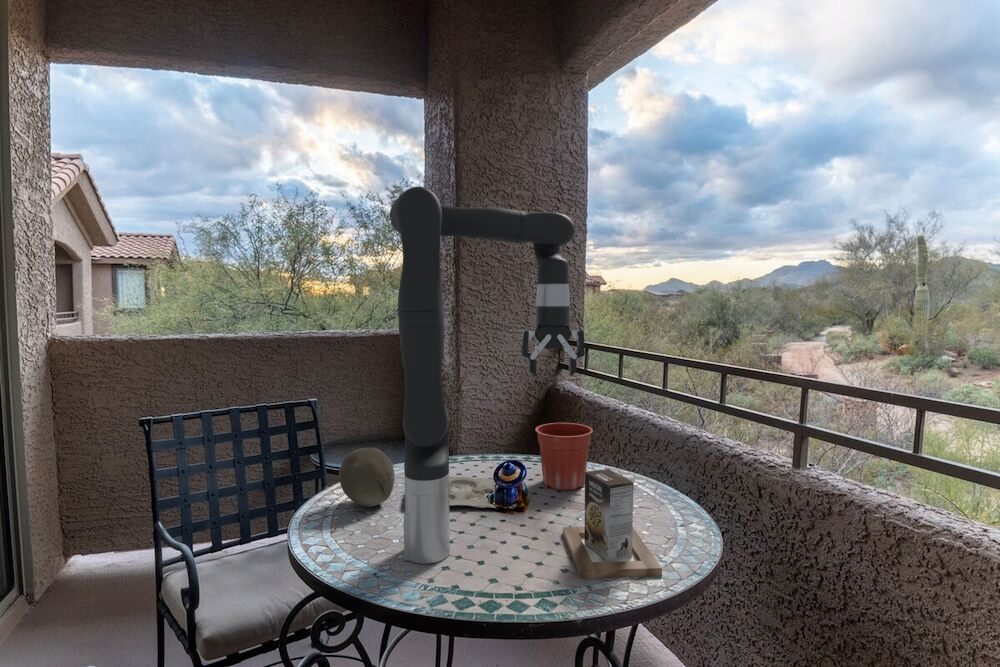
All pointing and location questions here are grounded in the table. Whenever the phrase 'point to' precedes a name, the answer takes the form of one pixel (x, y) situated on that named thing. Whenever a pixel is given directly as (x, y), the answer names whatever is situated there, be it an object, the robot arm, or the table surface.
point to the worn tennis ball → (367, 476)
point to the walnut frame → (599, 568)
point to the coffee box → (608, 514)
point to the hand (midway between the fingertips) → (552, 375)
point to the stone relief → (479, 490)
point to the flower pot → (564, 454)
